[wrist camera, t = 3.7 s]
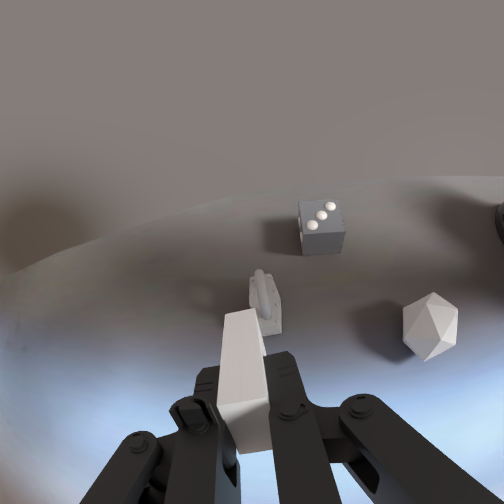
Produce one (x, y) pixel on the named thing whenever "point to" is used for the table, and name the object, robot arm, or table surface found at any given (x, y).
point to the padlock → (265, 303)
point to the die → (430, 326)
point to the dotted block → (320, 227)
